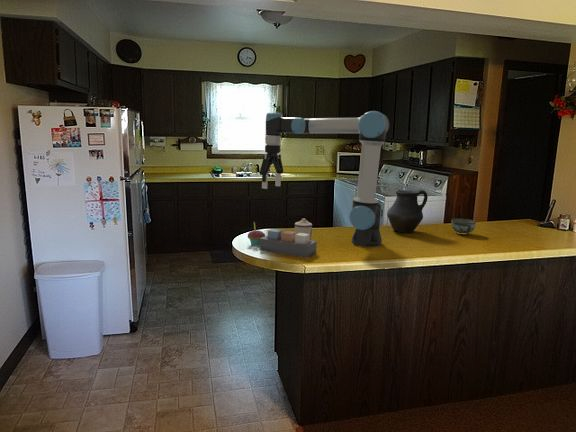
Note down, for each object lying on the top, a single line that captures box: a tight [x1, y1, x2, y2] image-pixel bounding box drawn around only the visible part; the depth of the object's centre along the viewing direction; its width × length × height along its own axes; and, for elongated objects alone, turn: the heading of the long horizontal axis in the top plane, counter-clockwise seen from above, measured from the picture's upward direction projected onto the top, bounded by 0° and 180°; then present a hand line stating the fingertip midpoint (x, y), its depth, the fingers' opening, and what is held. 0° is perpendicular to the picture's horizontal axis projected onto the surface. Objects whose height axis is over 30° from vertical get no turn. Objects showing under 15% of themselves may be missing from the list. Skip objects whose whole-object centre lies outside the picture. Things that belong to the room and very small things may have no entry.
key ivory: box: [295, 233, 310, 245], centre depth 198 cm, size 5×5×5 cm
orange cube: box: [281, 230, 296, 242], centre depth 201 cm, size 5×5×5 cm
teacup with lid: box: [294, 218, 313, 240], centre depth 223 cm, size 12×9×12 cm
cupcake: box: [247, 221, 266, 247], centre depth 211 cm, size 9×8×12 cm
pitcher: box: [386, 189, 428, 234], centre depth 253 cm, size 21×22×25 cm
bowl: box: [451, 217, 477, 234], centre depth 254 cm, size 14×13×8 cm
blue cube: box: [267, 228, 283, 240], centre depth 204 cm, size 5×5×5 cm
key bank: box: [259, 235, 318, 259], centre depth 202 cm, size 24×10×6 cm, turn 64°
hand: (271, 187), depth 222 cm, fingers open, 13 cm apart
